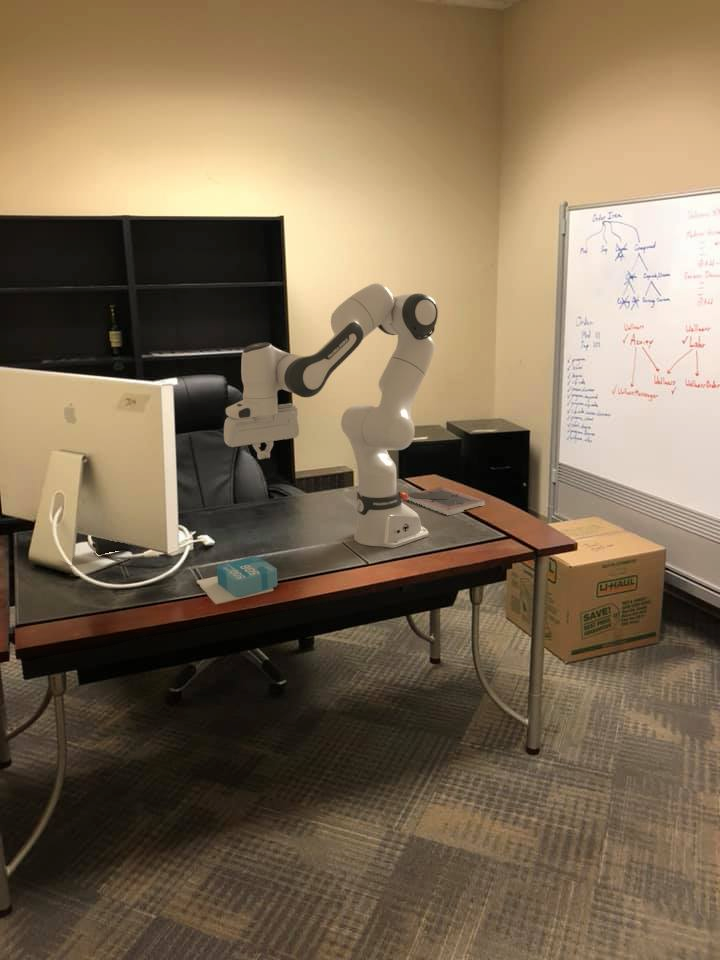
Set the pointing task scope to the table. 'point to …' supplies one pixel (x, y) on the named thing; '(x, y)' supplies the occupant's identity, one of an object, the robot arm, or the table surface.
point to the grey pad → (221, 591)
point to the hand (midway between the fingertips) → (263, 458)
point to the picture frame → (445, 500)
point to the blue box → (247, 576)
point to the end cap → (108, 546)
